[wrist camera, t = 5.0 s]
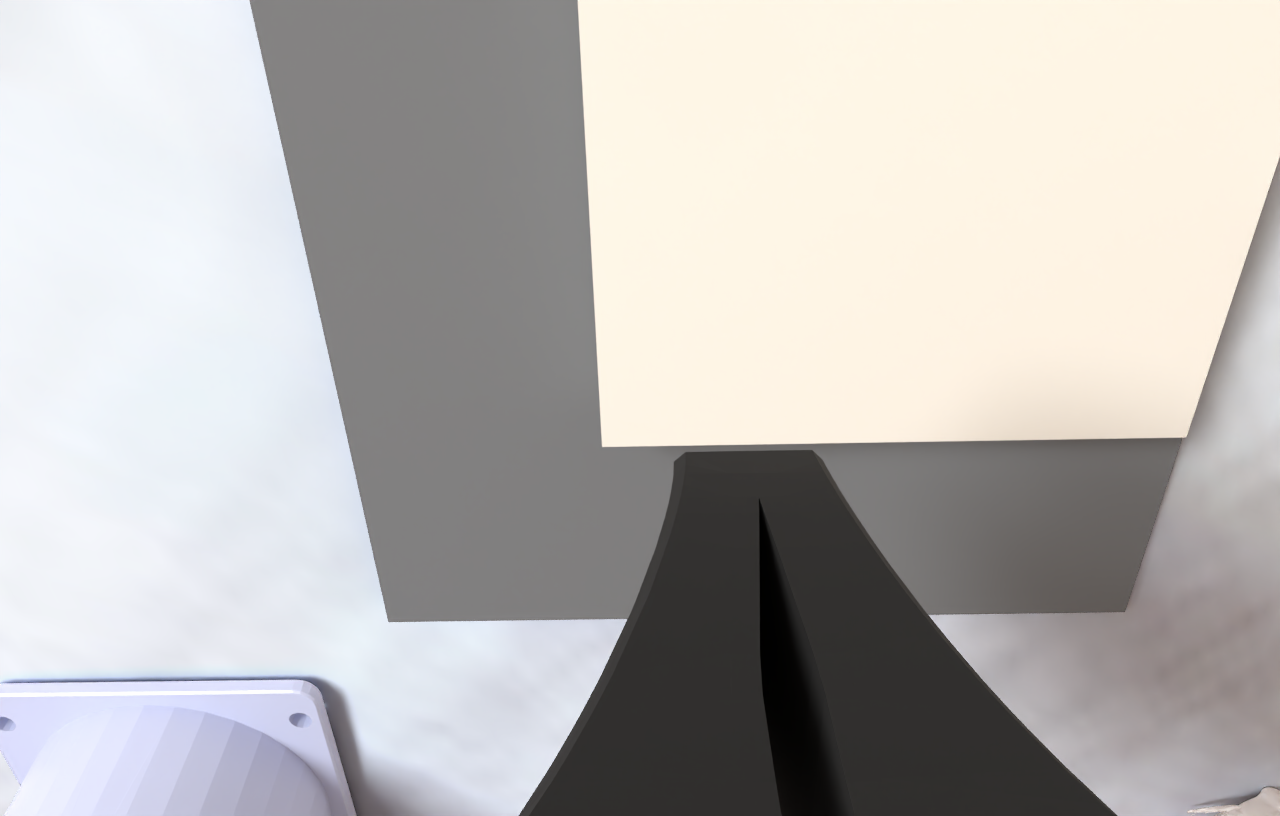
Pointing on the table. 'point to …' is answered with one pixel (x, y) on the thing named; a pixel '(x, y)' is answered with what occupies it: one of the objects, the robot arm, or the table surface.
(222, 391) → the table surface
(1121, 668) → the table surface
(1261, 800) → the white rounded piece
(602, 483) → the mat
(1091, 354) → the tile
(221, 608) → the table surface
